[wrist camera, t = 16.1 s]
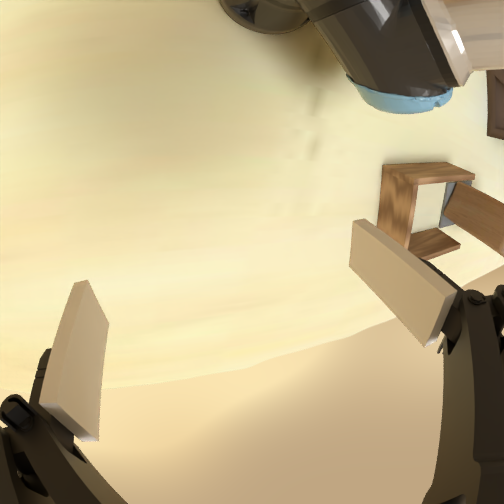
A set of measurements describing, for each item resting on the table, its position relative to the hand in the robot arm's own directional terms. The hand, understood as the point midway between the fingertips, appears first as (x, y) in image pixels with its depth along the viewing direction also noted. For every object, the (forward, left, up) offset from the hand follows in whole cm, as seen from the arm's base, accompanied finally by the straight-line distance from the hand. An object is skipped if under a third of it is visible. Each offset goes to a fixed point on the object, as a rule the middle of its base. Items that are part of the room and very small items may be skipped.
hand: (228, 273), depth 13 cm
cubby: (+15, +46, -32) cm, 58 cm away
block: (+16, +63, -31) cm, 72 cm away
